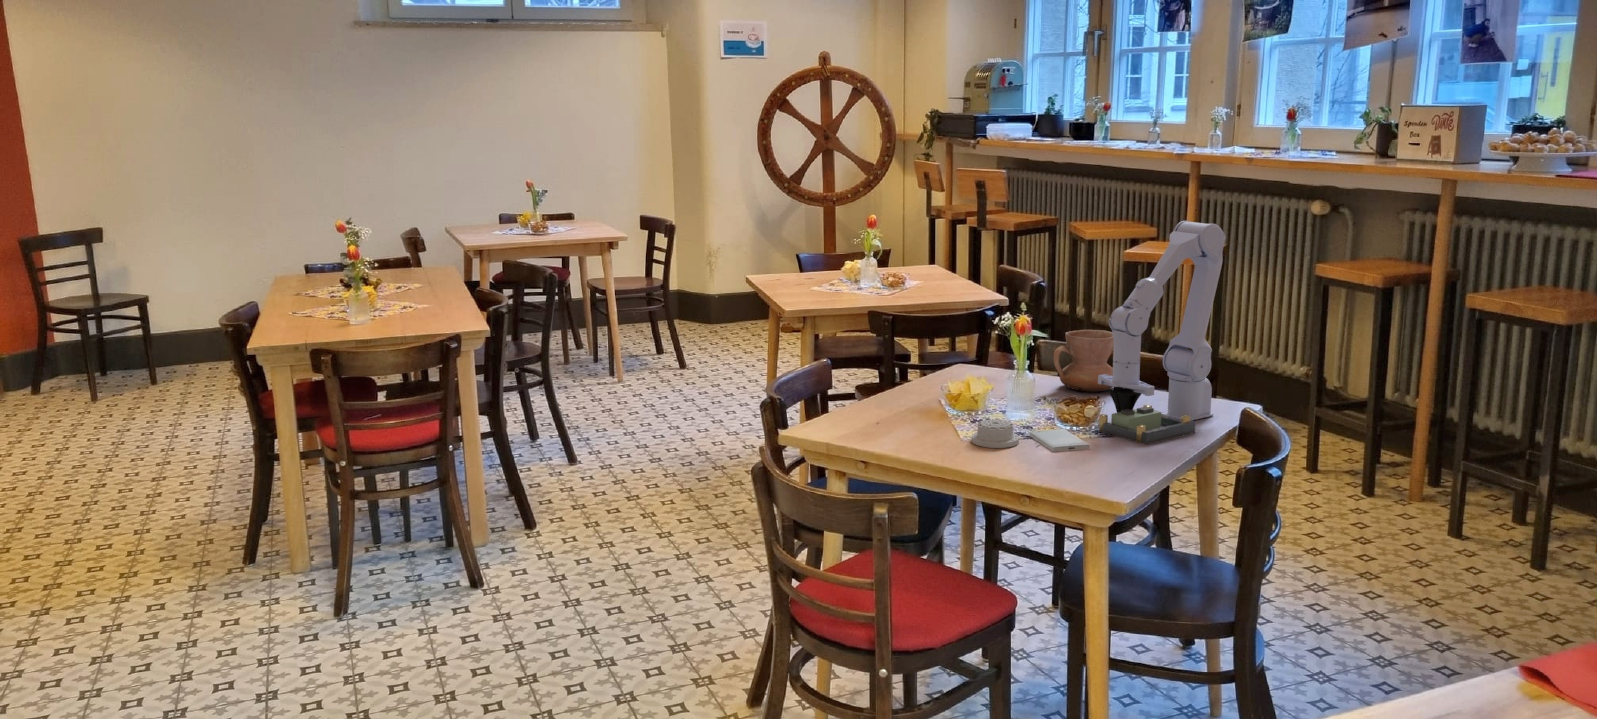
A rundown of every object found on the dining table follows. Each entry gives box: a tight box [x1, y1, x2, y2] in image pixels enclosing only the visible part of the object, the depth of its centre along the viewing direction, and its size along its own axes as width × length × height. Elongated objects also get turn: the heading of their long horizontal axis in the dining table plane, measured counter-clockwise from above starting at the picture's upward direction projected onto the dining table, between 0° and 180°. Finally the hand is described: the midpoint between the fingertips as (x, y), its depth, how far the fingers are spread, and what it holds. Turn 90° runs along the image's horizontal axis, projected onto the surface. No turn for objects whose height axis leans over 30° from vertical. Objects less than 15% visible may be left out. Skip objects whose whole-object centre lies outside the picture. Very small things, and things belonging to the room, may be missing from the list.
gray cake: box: [970, 418, 1020, 449], centre depth 247 cm, size 10×4×10 cm
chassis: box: [1098, 404, 1196, 446], centre depth 252 cm, size 16×14×4 cm
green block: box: [1110, 406, 1162, 431], centre depth 254 cm, size 10×5×5 cm, turn 121°
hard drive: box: [1029, 428, 1091, 453], centre depth 246 cm, size 2×8×12 cm
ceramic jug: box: [1052, 329, 1114, 393], centre depth 291 cm, size 18×14×14 cm
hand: (1123, 421), depth 258 cm, fingers closed
